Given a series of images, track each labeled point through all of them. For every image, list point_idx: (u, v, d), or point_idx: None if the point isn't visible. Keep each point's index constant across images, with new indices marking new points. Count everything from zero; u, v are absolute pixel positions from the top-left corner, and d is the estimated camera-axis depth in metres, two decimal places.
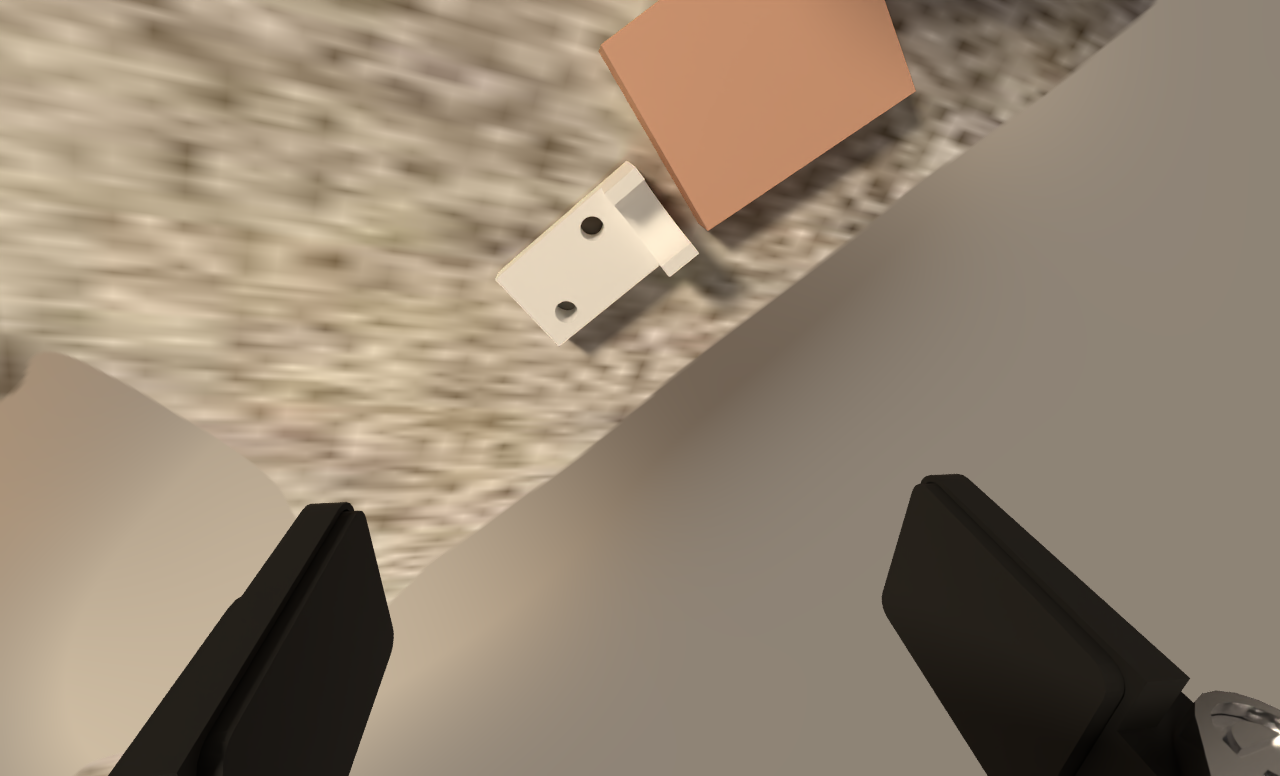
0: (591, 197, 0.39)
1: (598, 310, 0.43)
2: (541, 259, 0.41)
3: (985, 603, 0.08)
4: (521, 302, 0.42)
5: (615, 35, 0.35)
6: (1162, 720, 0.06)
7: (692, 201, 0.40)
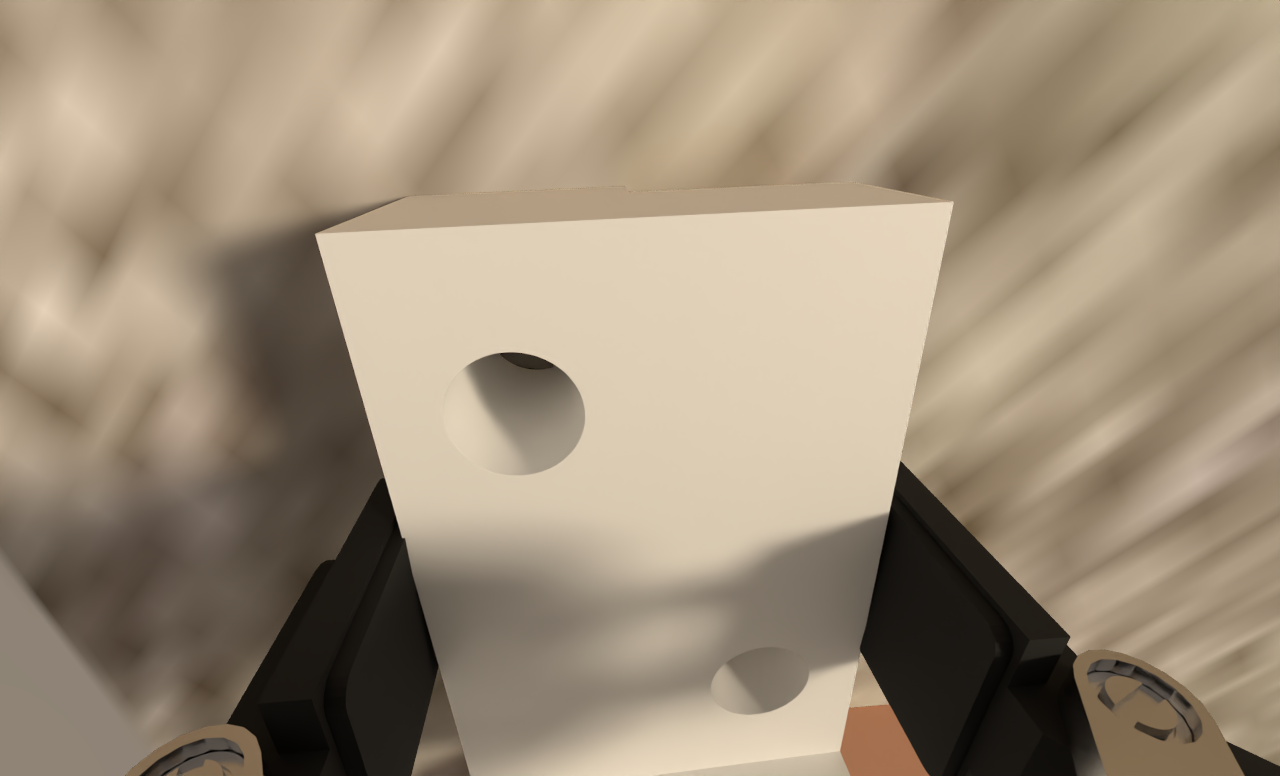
0: (841, 717, 0.10)
1: (424, 549, 0.08)
2: (826, 471, 0.08)
3: (905, 575, 0.08)
4: (737, 237, 0.06)
5: None
6: (1050, 678, 0.06)
7: None
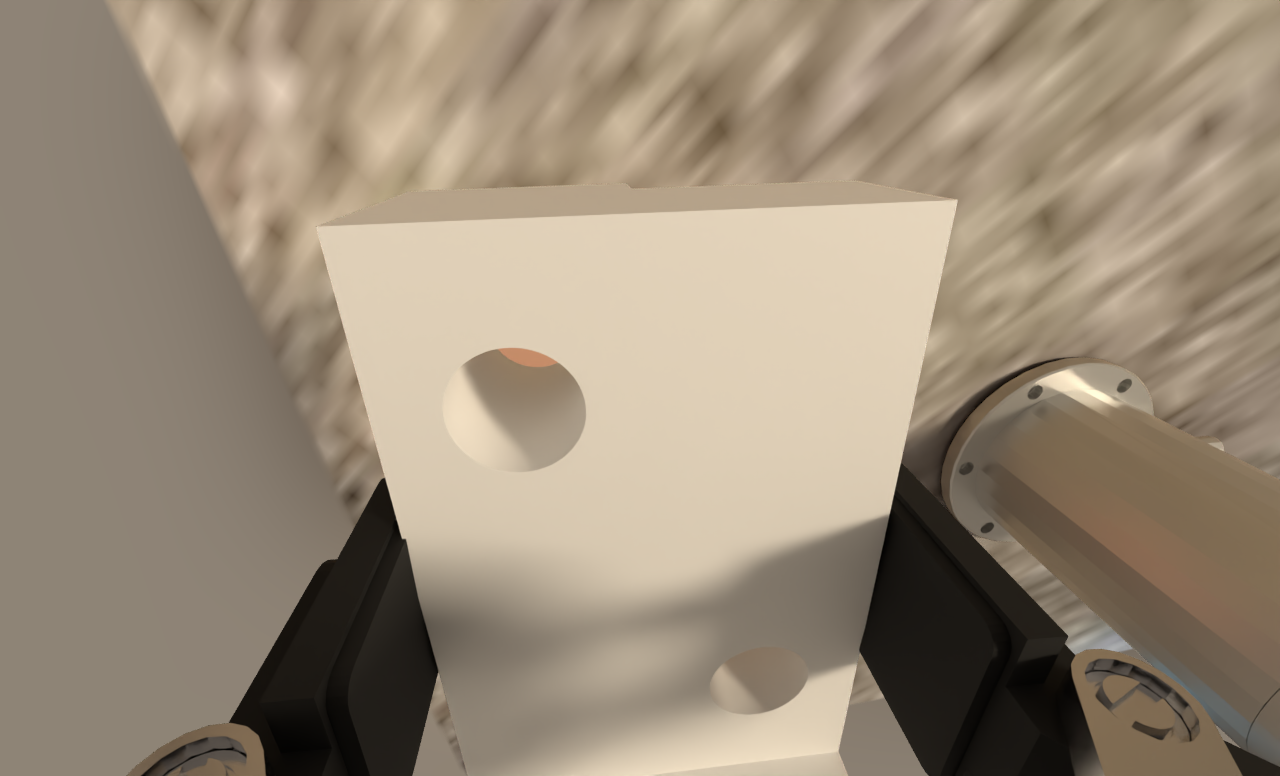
0: (840, 717, 0.10)
1: (423, 546, 0.08)
2: (828, 470, 0.08)
3: (904, 575, 0.08)
4: (741, 233, 0.06)
5: None
6: (1048, 677, 0.06)
7: None
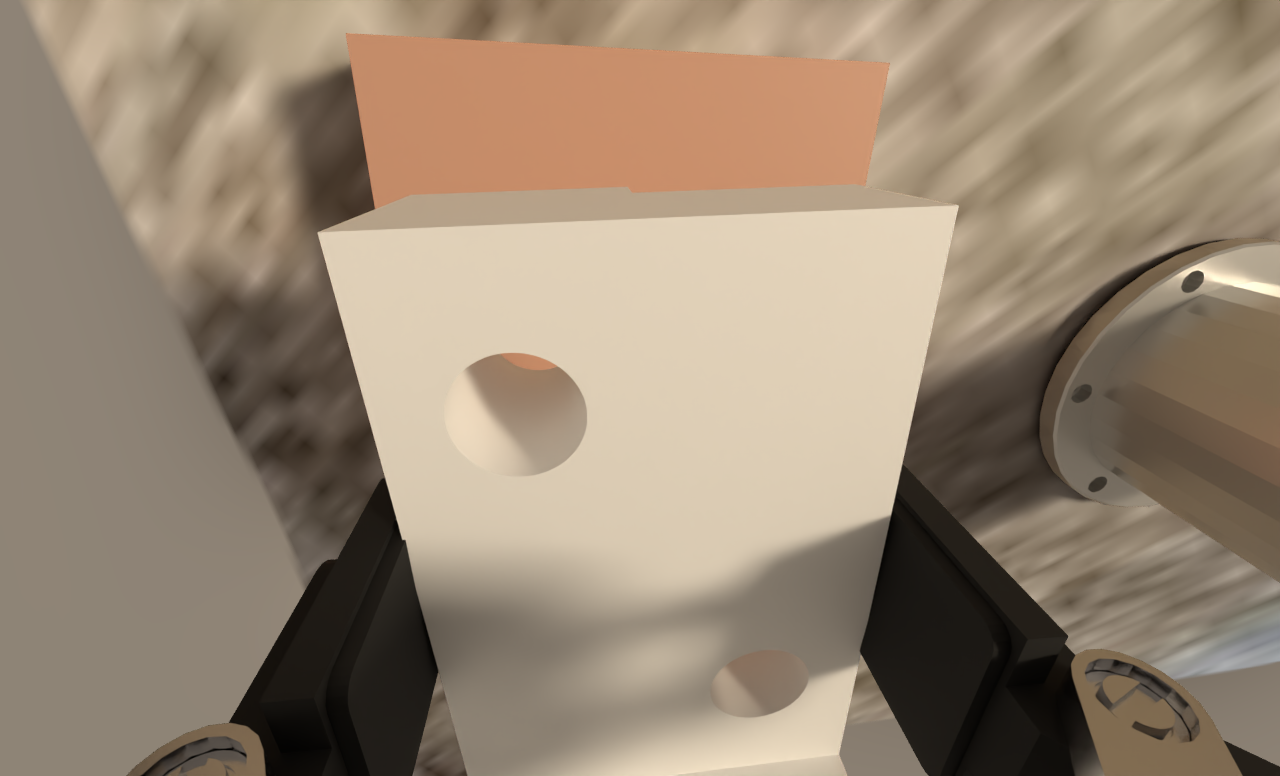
0: (841, 720, 0.10)
1: (424, 550, 0.08)
2: (828, 474, 0.08)
3: (904, 575, 0.08)
4: (742, 239, 0.06)
5: (878, 107, 0.15)
6: (1048, 677, 0.06)
7: (449, 42, 0.14)
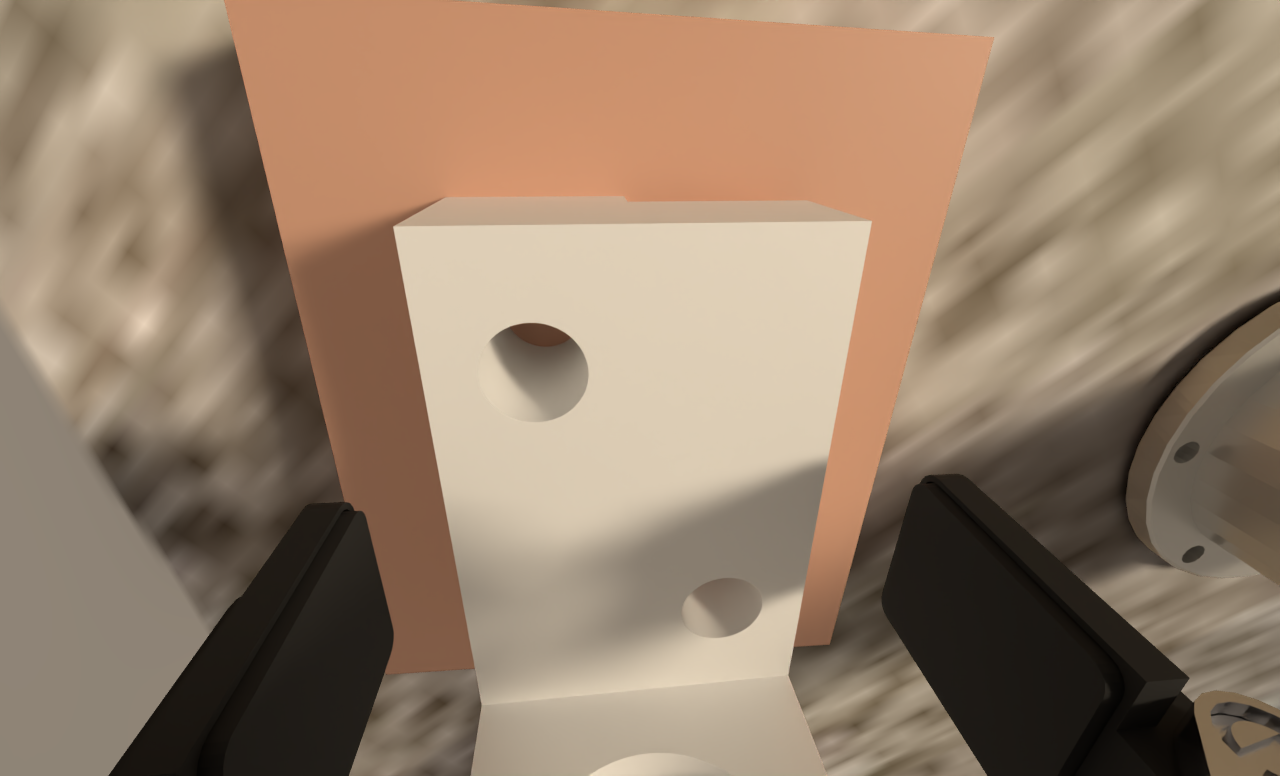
0: (789, 644, 0.12)
1: (455, 481, 0.10)
2: (776, 428, 0.10)
3: (985, 603, 0.08)
4: (709, 241, 0.08)
5: (973, 98, 0.11)
6: (1162, 720, 0.06)
7: (376, 1, 0.09)
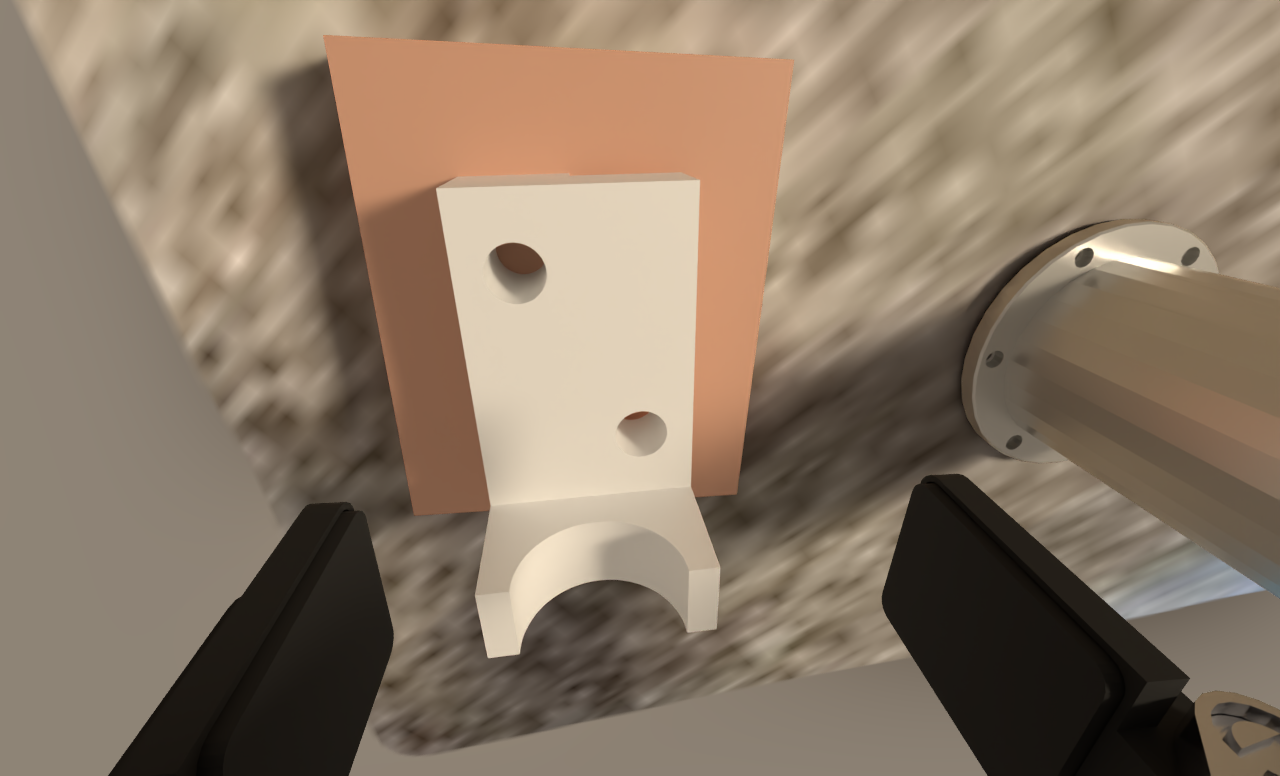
0: (689, 462, 0.19)
1: (471, 342, 0.16)
2: (661, 307, 0.17)
3: (985, 603, 0.08)
4: (609, 193, 0.15)
5: (786, 97, 0.18)
6: (1162, 720, 0.06)
7: (414, 43, 0.16)
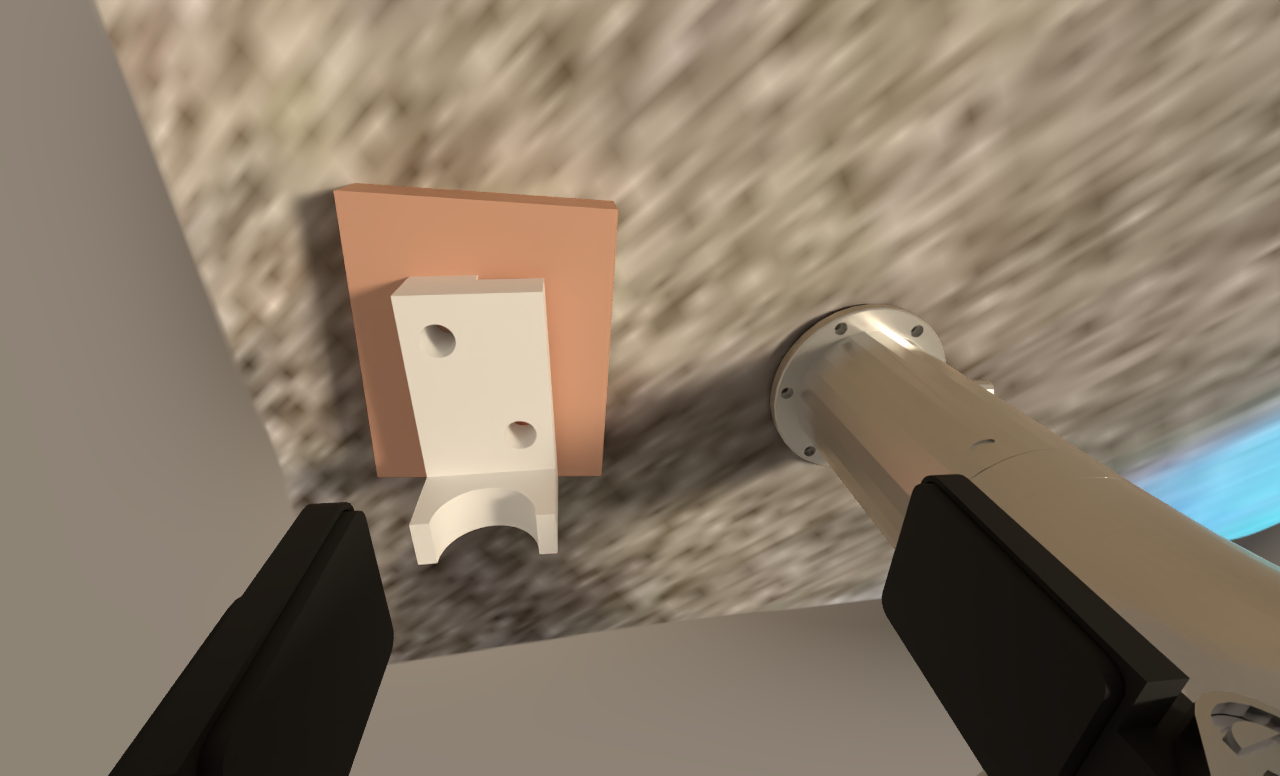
0: (552, 453, 0.31)
1: (412, 379, 0.28)
2: (526, 361, 0.28)
3: (985, 603, 0.08)
4: (489, 298, 0.26)
5: (615, 230, 0.29)
6: (1162, 720, 0.06)
7: (386, 195, 0.27)
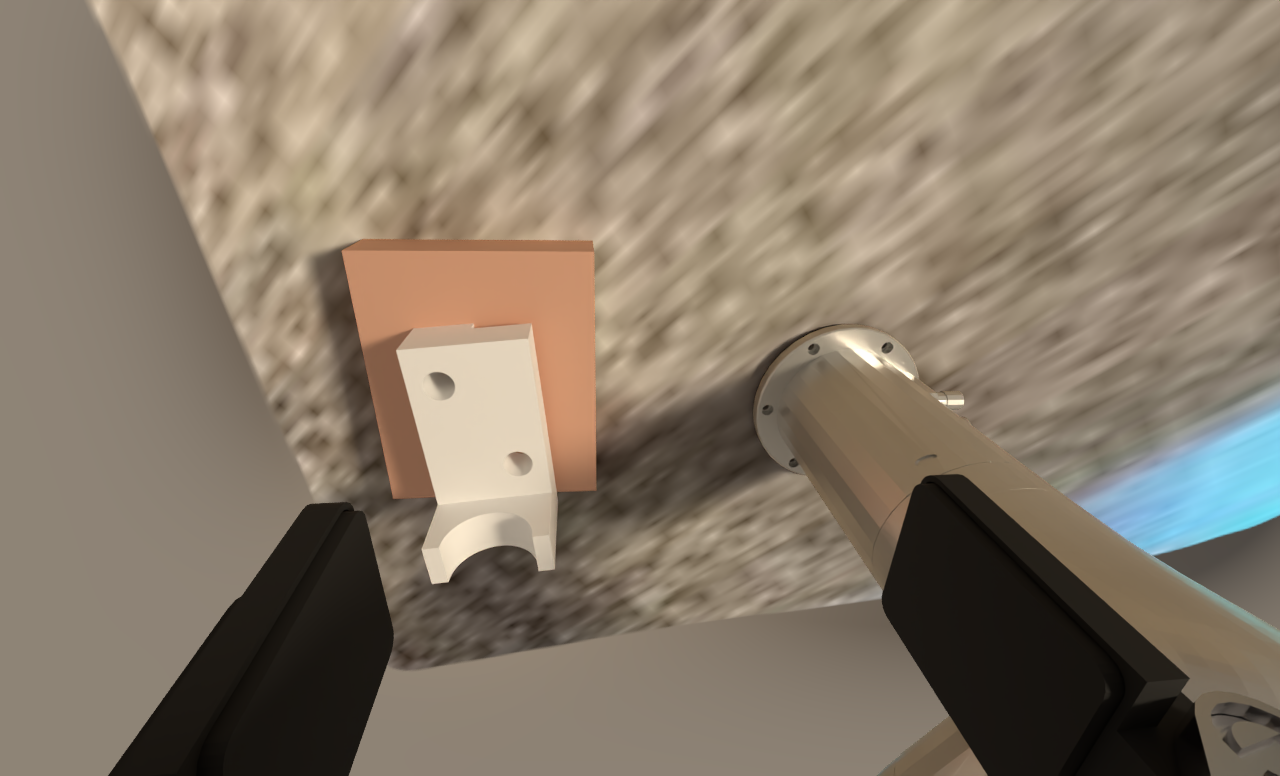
0: (548, 479, 0.34)
1: (419, 419, 0.31)
2: (518, 399, 0.31)
3: (985, 603, 0.08)
4: (482, 347, 0.30)
5: (592, 269, 0.32)
6: (1162, 720, 0.06)
7: (387, 252, 0.31)
